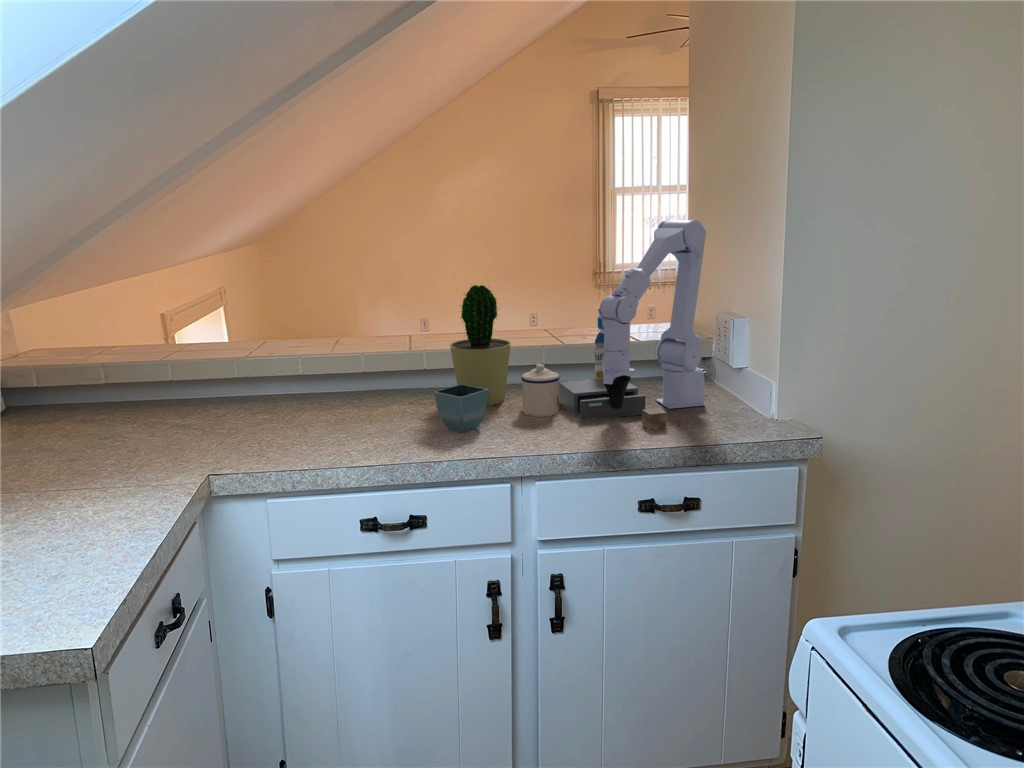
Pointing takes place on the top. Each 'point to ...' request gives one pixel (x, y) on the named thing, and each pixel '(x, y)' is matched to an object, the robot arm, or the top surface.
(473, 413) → the flower pot
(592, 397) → the disc
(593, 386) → the grey drawer box
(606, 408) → the tray
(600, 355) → the beverage bottle
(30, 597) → the top surface
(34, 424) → the top surface
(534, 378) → the cream lidded canister
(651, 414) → the walnut block
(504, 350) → the potted cactus
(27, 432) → the top surface
